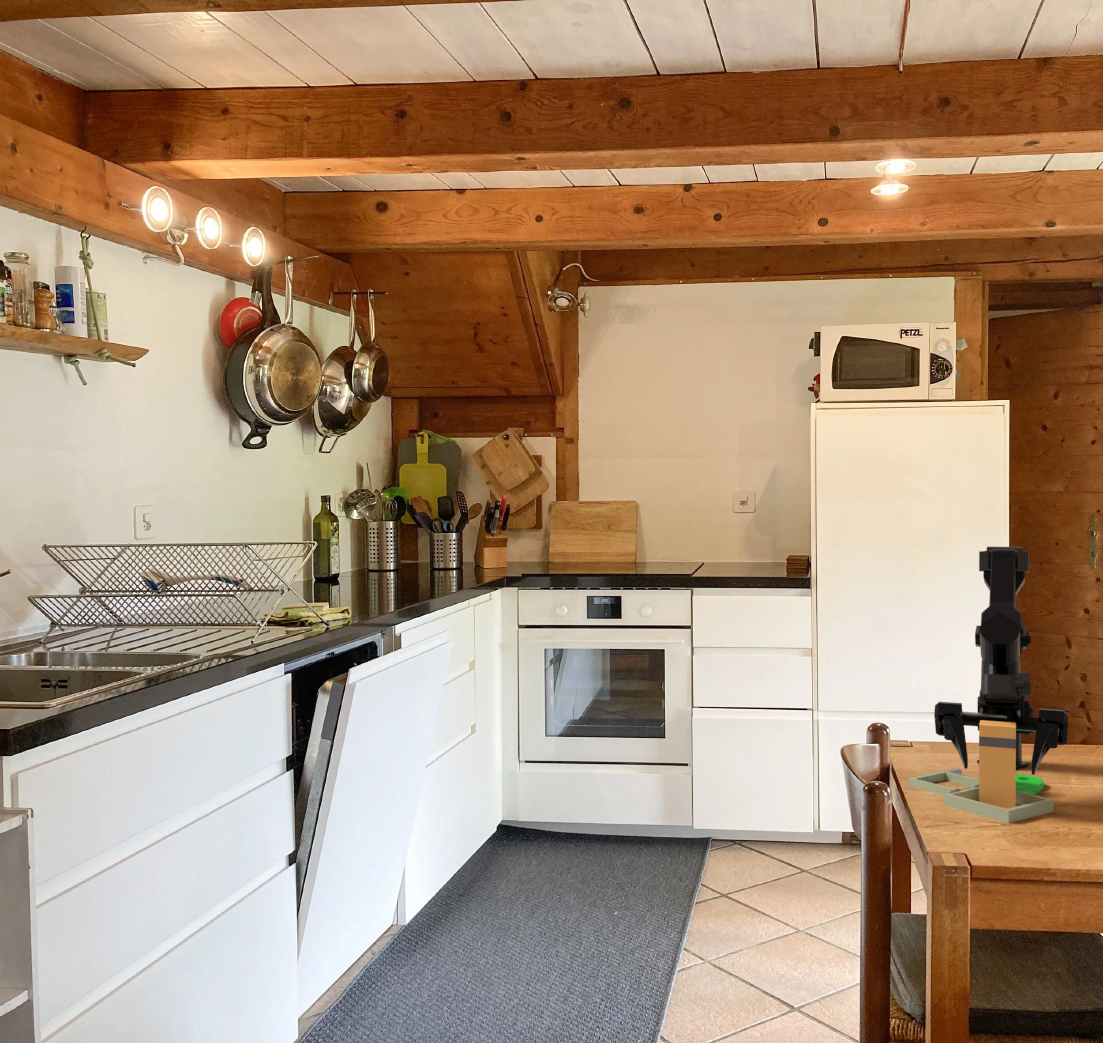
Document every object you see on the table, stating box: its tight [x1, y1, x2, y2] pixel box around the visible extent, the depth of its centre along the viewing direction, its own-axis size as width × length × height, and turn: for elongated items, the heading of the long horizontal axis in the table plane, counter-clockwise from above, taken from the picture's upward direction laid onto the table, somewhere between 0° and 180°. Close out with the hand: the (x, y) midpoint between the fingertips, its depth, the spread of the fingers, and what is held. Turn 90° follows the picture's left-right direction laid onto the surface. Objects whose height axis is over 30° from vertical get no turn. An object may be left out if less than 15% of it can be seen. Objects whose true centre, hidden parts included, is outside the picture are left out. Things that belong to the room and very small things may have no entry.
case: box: [943, 784, 1055, 824], centre depth 162 cm, size 11×12×3 cm
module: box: [978, 720, 1017, 809], centre depth 161 cm, size 4×5×13 cm
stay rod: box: [917, 767, 963, 777], centre depth 183 cm, size 10×1×1 cm, turn 123°
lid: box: [908, 771, 979, 796], centre depth 174 cm, size 9×9×2 cm
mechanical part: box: [1016, 773, 1045, 795], centre depth 173 cm, size 12×6×8 cm, turn 141°
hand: (999, 770), depth 160 cm, fingers open, 9 cm apart
